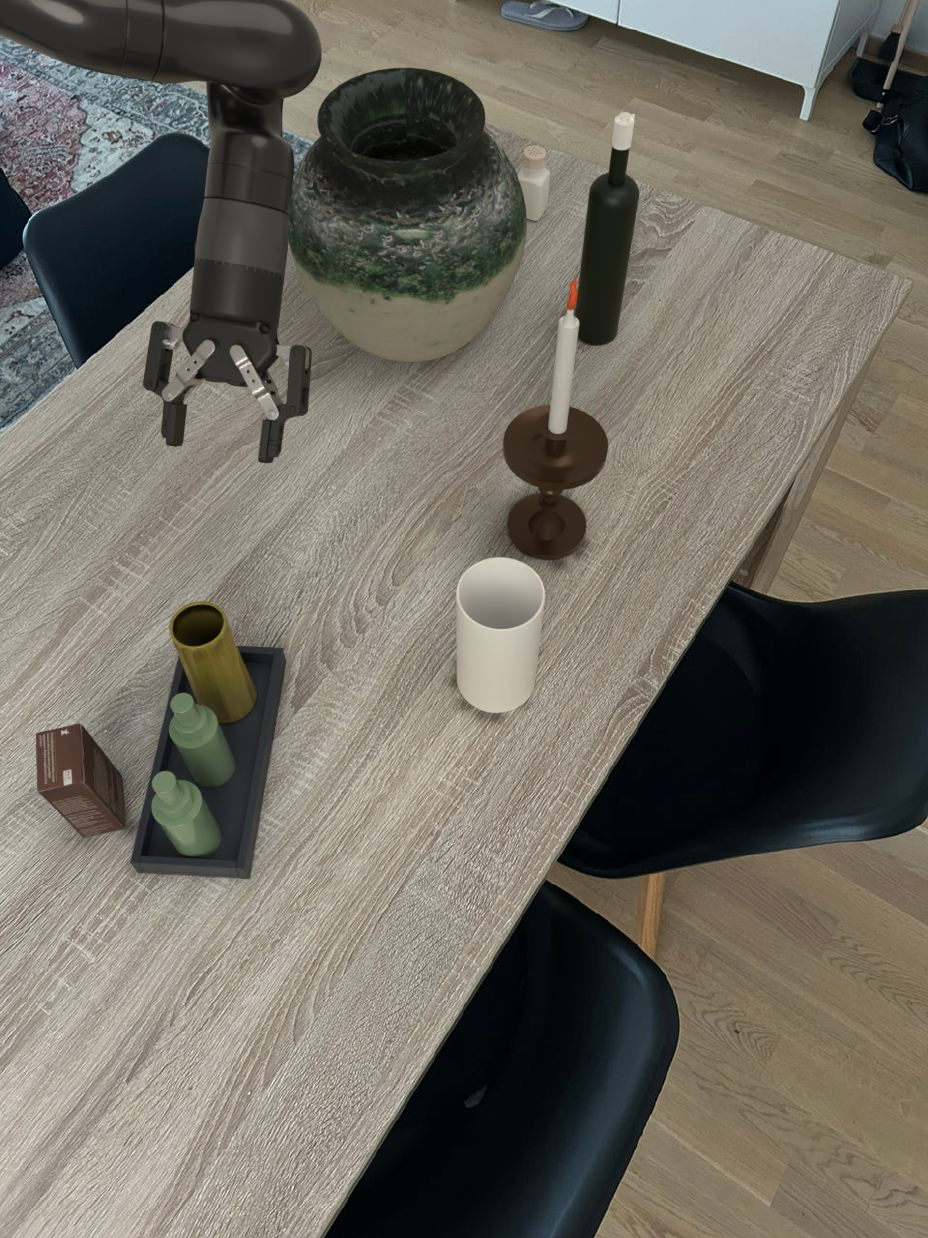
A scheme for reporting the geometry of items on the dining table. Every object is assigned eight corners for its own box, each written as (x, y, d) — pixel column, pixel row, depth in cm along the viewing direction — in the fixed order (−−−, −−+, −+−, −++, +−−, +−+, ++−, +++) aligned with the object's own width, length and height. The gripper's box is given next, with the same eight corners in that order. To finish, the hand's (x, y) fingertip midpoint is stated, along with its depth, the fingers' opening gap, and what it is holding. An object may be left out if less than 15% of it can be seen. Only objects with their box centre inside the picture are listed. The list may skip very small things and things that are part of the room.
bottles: (170, 860, 98) (131, 805, 86) (195, 745, 104) (162, 679, 92) (217, 863, 97) (184, 807, 86) (239, 747, 104) (211, 681, 92)
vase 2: (519, 258, 145) (531, 41, 119) (521, 409, 129) (535, 197, 104) (315, 255, 145) (284, 39, 119) (293, 405, 130) (252, 194, 104)
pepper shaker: (548, 207, 151) (553, 147, 143) (538, 223, 149) (542, 163, 141) (523, 200, 151) (526, 140, 143) (512, 216, 149) (515, 156, 141)
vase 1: (269, 696, 107) (245, 622, 95) (223, 736, 104) (192, 665, 92) (230, 661, 109) (202, 584, 97) (185, 699, 107) (149, 625, 95)
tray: (137, 873, 98) (129, 863, 95) (187, 656, 110) (181, 642, 108) (249, 879, 97) (244, 869, 95) (286, 661, 110) (282, 647, 108)
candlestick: (524, 478, 123) (543, 226, 94) (608, 512, 121) (655, 263, 91) (482, 544, 118) (489, 299, 89) (569, 580, 116) (606, 340, 86)
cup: (519, 636, 112) (527, 547, 98) (546, 700, 108) (558, 617, 94) (446, 656, 110) (444, 569, 97) (470, 722, 106) (471, 641, 93)
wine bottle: (623, 341, 136) (659, 126, 110) (581, 349, 135) (608, 134, 110) (609, 311, 139) (641, 96, 113) (567, 319, 138) (591, 103, 113)
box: (76, 784, 102) (33, 730, 92) (123, 775, 103) (85, 720, 93) (79, 842, 99) (35, 792, 89) (126, 831, 100) (88, 781, 90)
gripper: (333, 281, 91) (309, 465, 95) (180, 256, 93) (162, 438, 96) (307, 271, 84) (282, 471, 87) (141, 244, 85) (123, 441, 89)
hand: (219, 453), depth 92 cm, fingers open, 8 cm apart
